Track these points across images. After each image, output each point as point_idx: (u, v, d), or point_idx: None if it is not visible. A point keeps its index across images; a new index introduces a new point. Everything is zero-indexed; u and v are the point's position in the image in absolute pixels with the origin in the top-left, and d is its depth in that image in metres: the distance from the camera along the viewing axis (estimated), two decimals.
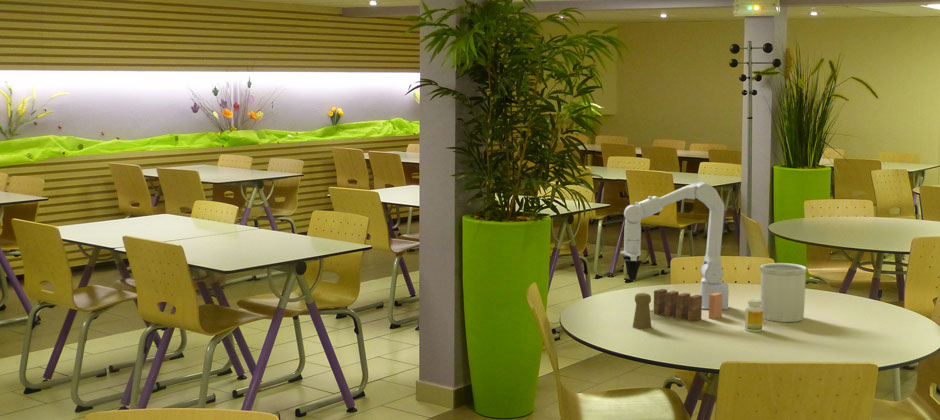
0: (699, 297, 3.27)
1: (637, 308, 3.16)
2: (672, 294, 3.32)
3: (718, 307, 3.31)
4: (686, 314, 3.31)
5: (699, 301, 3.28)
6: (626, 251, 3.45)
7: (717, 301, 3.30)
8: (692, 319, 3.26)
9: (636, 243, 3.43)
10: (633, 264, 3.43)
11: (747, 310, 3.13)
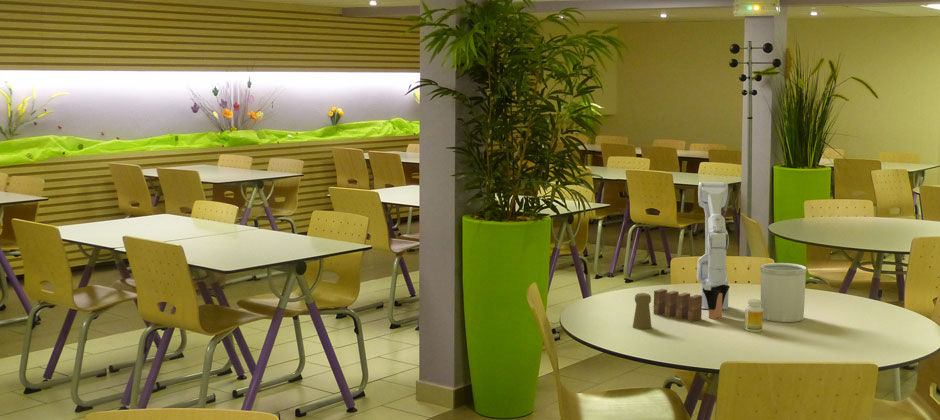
0: (699, 297, 3.27)
1: (637, 308, 3.16)
2: (672, 294, 3.32)
3: (718, 307, 3.31)
4: (686, 314, 3.31)
5: (699, 301, 3.28)
6: (708, 279, 3.30)
7: (717, 301, 3.30)
8: (692, 319, 3.26)
9: (717, 272, 3.27)
10: (712, 293, 3.28)
11: (747, 310, 3.13)
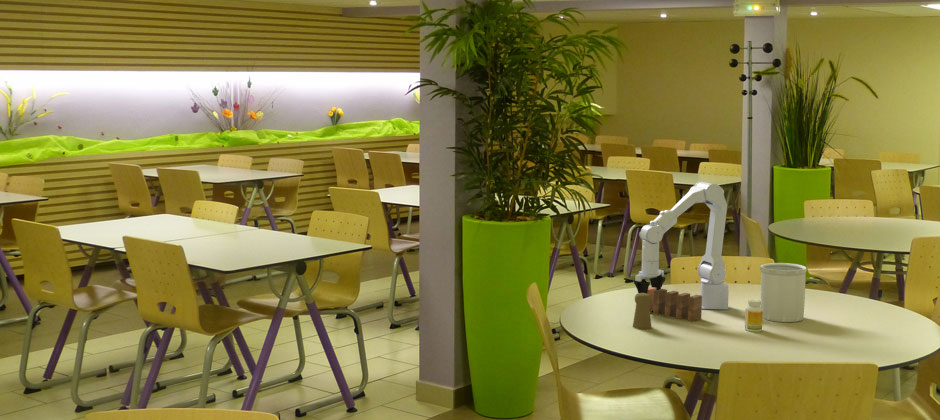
0: (699, 297, 3.27)
1: (637, 308, 3.16)
2: (672, 294, 3.32)
3: (652, 301, 3.40)
4: (686, 314, 3.31)
5: (699, 301, 3.28)
6: (641, 271, 3.39)
7: (651, 295, 3.39)
8: (692, 319, 3.26)
9: (648, 264, 3.36)
10: (642, 285, 3.36)
11: (747, 310, 3.13)
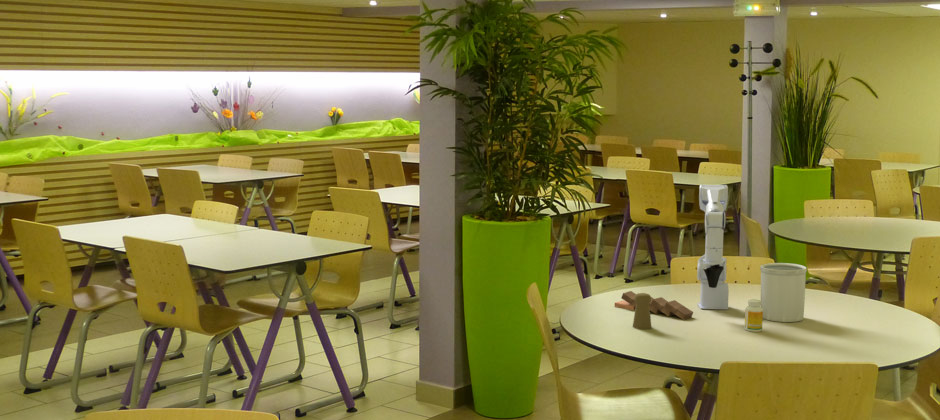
0: (673, 301, 3.35)
1: (637, 308, 3.16)
2: None
3: None
4: None
5: (676, 303, 3.34)
6: (705, 259, 3.31)
7: (623, 302, 3.47)
8: (683, 314, 3.28)
9: (713, 251, 3.28)
10: (712, 271, 3.31)
11: (747, 310, 3.13)
